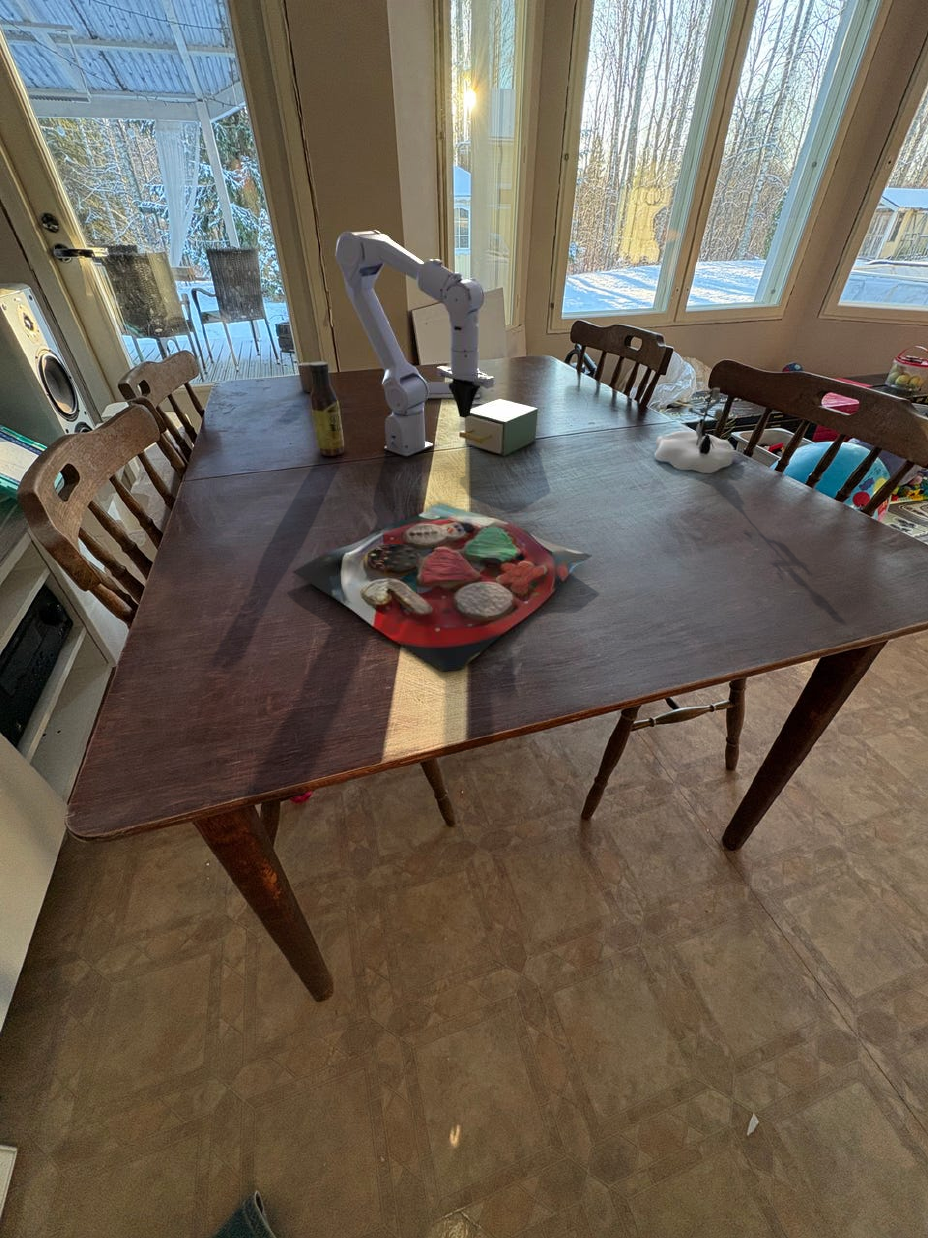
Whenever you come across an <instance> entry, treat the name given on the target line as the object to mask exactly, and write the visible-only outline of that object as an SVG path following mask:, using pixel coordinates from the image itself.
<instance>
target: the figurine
mask: <svg viewBox="0 0 928 1238" xmlns="http://www.w3.org/2000/svg"><path fill="white" fill-rule="evenodd" d="M720 392H721V388H720V387H717V386H716V387H713V388H711V389H709V390H708V391H707V392H706V395H707V396H708V397H707V398H705V400H704V401H703V403H702V404H706V406H705V407H704V406H703V407H702V408H699V412H697V411H695V410H694V409H693V408H692V407H689V408H688V410H687V411H688V412H689V413H692V414H693V415H697V416H699V417H703V418H699V420H698V421H699V422H698V424H697V426H696V429H695V431H691V430H688V429H687V430H686V429H683V430H678V431H674V432H672V433H668V434H665V435H659V436H658V437H657V438H656V441H655V446H656V447H657V449H656V451H655V452H654V459H655V460H657V461H659V462H665V463H669V464H670V465H671V466H673V467H674V469H678V470H681V471H696V472H699V473H703V474H712V473H715V472H717V471H719V470H721V469H722V468H726V467H730V466H731V465H732V463H733V461H734V459H735V458H736V457H737V454H738V453H737V451H736V449H735V448H734V446H733V445H732V444H731V443H730V442H729V441H728V439H727V440H726V439H722V438H721V439H720V438H718V437H717V436H714V435H712V434H709V433H706V431H707V424H706V422H705V421H706V418H707V417H708V418H711V419H715V420H717V421H722V416H723V414H724V411H723V409H721V408H718V409H716V410H715V411H714V413H713V415H712V414H709V411H710V410H712V408H713V407H715V406H716V405H717V404H719V403H720V402H721V401H722V400H721V398H722V397H721V396H719V395H720ZM713 399H715V400H714V401H713V402H712V403H711V401H712V400H713ZM727 447H728V448H727ZM729 448H731V449H729ZM733 449H735V450H733Z"/></svg>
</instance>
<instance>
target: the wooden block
mask: <svg viewBox="0 0 928 1238" xmlns="http://www.w3.org/2000/svg"><path fill="white" fill-rule="evenodd" d="M310 363H311V362H307V361H305V362H302V363H298V364H297V369H298V374H299V379H300V384H301V389H302V391H303V392H306V393H310V394H311V392H312V389H313V386H314V385H313V380H312V374H311V371H310V367H309V364H310Z"/></svg>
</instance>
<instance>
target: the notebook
mask: <svg viewBox="0 0 928 1238" xmlns="http://www.w3.org/2000/svg"><path fill="white" fill-rule="evenodd" d="M426 383H427V385H428V388H429V395H428V398H427V400H428V399H433V400H434V399H435V400H436V399H442V400H443V399H444V400H445V399H455V398H454V396H453V394H452V392H451V390H450V388H449V383H452V381H426ZM481 394H482V393H481V387H480V388H479V389H478V391H477V393H476V395H475V398H474V399H481V397H482V396H481Z"/></svg>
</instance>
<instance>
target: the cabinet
mask: <svg viewBox="0 0 928 1238" xmlns="http://www.w3.org/2000/svg"><path fill="white" fill-rule="evenodd" d="M538 414H539V408H538V407H533V406H529V405H525V404H521V403H517V402H513V401H510V400H505V399H501V398H498V399H495V400H493V401H489V402H487V403H484V404H483V405H482V406H479V407H476V408H474V409H471V411H470V416H472V415H475V416H478V417H482V418H485V419H489V420H493V421H496V422H500V423H503V424H504V428H503V450H502V452H501V453H496V452H493V451H489V450H486V449H483V448H480V447H477V446H474V445H471V444H467V443H465V444H466V445H467V446H468V445H469V446H471V447H475V448H478V449H481V450H484V451H488V452H491V453H494V454H497V455H500V456H507V455H508V454H510V453H513V452H515V451H517V450H519V449H521V448H523V447H525V446H527V445H530V444H532V443H534V442H536V435H537V425H538V423H537V422H538Z"/></svg>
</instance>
